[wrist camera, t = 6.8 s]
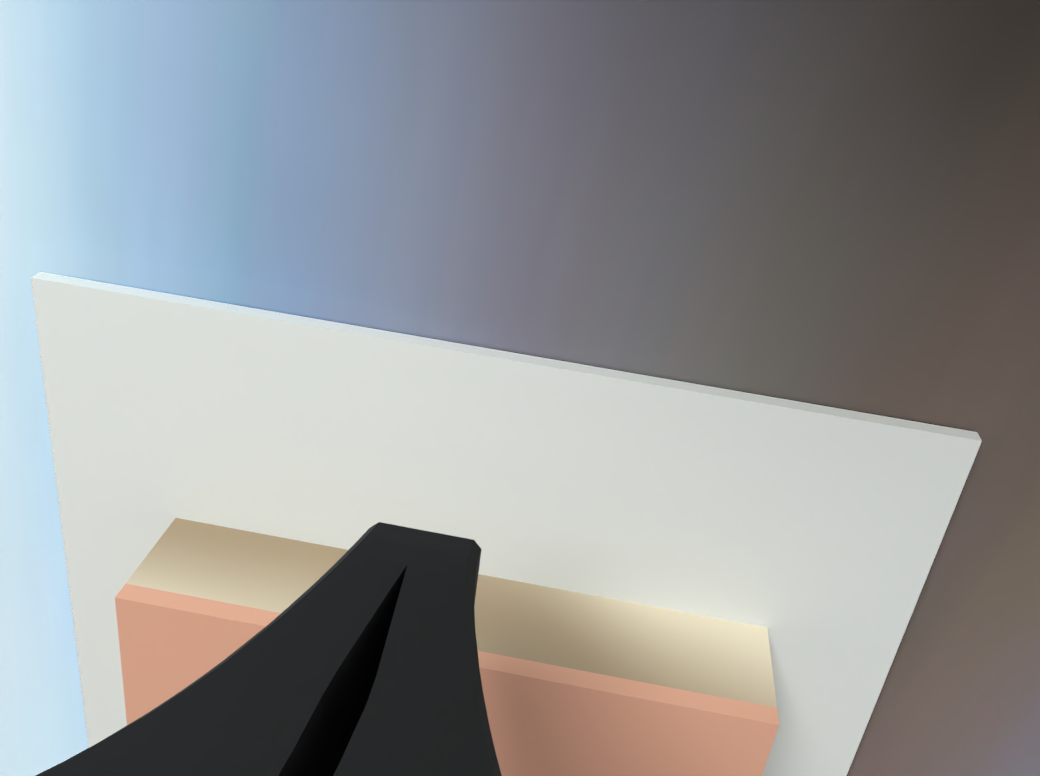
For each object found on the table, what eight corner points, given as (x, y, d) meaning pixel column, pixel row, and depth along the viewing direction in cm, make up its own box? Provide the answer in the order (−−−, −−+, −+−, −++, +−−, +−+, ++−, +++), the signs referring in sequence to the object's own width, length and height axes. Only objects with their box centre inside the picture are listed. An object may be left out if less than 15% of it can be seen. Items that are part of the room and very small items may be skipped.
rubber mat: (977, 431, 17) (981, 440, 17) (769, 952, 24) (770, 963, 24) (40, 271, 18) (31, 277, 18) (104, 815, 25) (98, 825, 25)
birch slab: (115, 597, 18) (141, 879, 22) (779, 725, 17) (686, 993, 21) (175, 517, 20) (190, 786, 24) (767, 628, 19) (685, 886, 23)
